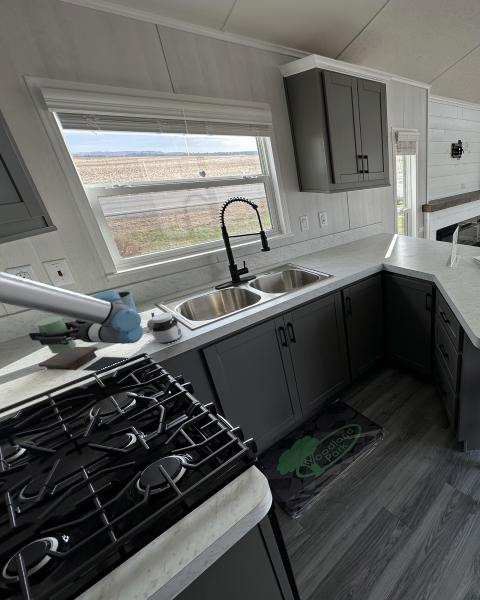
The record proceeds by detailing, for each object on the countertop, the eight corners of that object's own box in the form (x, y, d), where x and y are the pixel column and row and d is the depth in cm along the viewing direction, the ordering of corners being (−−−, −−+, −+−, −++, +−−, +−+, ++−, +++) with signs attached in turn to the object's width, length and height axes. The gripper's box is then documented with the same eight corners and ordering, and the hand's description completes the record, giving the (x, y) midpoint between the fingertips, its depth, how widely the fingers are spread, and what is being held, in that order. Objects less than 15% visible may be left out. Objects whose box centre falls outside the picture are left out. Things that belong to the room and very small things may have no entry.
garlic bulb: (158, 323, 156) (152, 308, 152) (171, 324, 154) (165, 309, 151) (144, 331, 149) (137, 316, 145) (158, 332, 148) (152, 317, 144)
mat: (102, 379, 118) (102, 378, 118) (70, 378, 119) (70, 377, 119) (132, 358, 130) (132, 357, 129) (103, 357, 131) (102, 356, 131)
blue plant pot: (129, 311, 169) (119, 290, 164) (145, 312, 167) (136, 291, 162) (109, 321, 160) (99, 299, 155) (126, 322, 158) (116, 300, 153)
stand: (71, 374, 122) (66, 365, 120) (43, 373, 123) (38, 364, 121) (101, 355, 133) (96, 347, 131) (75, 354, 134) (70, 346, 132)
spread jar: (175, 345, 138) (165, 320, 133) (146, 348, 136) (135, 324, 131) (187, 330, 148) (179, 307, 143) (160, 333, 147) (151, 310, 142)
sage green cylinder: (62, 353, 121) (46, 325, 116) (46, 353, 122) (29, 325, 117) (81, 343, 127) (66, 316, 122) (65, 343, 128) (50, 316, 123)
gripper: (75, 356, 112) (17, 354, 115) (125, 327, 130) (74, 326, 133) (65, 338, 109) (5, 336, 111) (117, 310, 127) (65, 309, 129)
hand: (42, 331), depth 122 cm, fingers closed on sage green cylinder, 7 cm apart
